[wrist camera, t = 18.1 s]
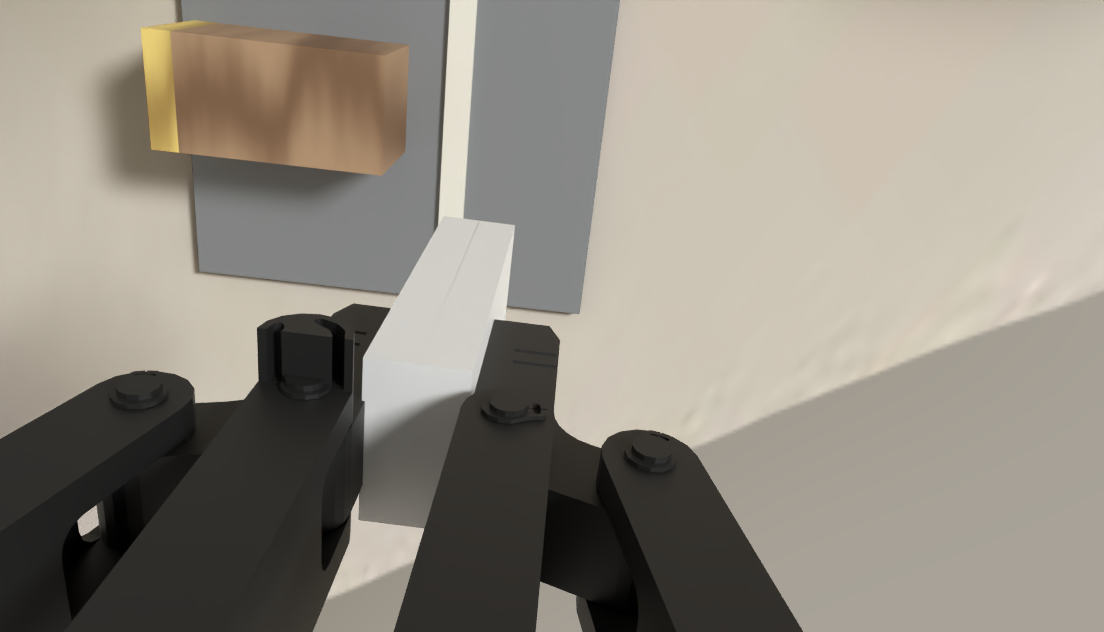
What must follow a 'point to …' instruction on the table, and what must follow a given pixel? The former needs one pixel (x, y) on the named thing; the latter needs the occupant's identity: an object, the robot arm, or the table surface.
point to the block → (276, 96)
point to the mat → (431, 148)
